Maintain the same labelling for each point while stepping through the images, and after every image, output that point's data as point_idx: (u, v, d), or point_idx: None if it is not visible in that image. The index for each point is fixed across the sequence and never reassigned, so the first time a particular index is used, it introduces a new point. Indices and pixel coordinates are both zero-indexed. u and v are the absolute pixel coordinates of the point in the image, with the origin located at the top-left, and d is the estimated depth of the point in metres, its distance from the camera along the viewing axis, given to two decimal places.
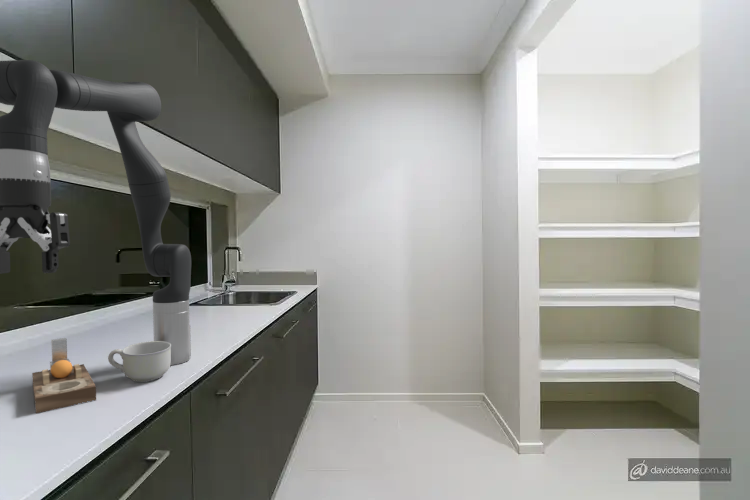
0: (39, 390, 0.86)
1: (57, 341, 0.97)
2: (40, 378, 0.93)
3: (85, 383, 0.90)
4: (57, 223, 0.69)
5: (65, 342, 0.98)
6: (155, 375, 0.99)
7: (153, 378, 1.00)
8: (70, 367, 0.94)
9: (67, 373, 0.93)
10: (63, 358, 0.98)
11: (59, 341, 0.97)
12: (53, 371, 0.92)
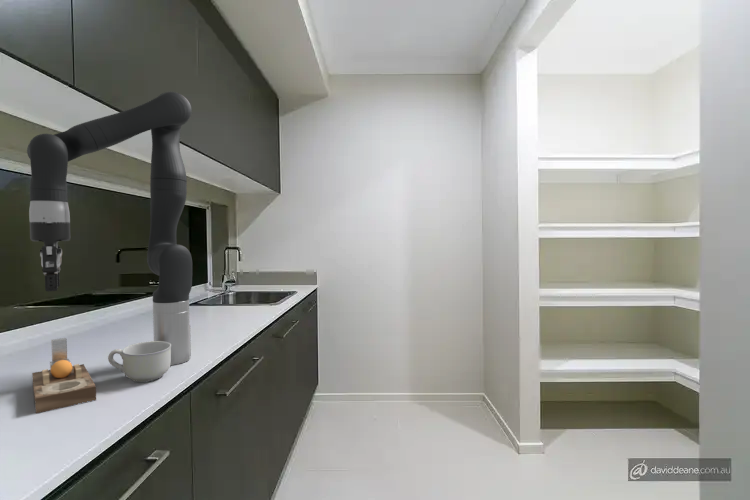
0: (39, 390, 0.86)
1: (57, 341, 0.97)
2: (40, 378, 0.93)
3: (85, 383, 0.90)
4: None
5: (65, 342, 0.98)
6: (155, 375, 0.99)
7: (153, 378, 1.00)
8: (70, 367, 0.94)
9: (67, 373, 0.93)
10: (63, 358, 0.98)
11: (59, 341, 0.97)
12: (53, 371, 0.92)
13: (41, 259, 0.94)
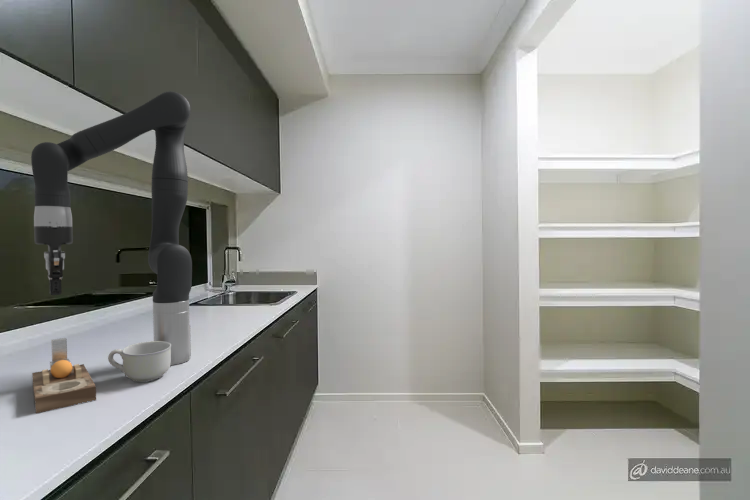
0: (39, 390, 0.86)
1: (57, 341, 0.97)
2: (40, 378, 0.93)
3: (85, 383, 0.90)
4: None
5: (65, 342, 0.98)
6: (155, 375, 0.99)
7: (153, 378, 1.00)
8: (70, 367, 0.94)
9: (67, 373, 0.93)
10: (63, 358, 0.98)
11: (59, 341, 0.97)
12: (53, 371, 0.92)
13: (46, 265, 1.00)
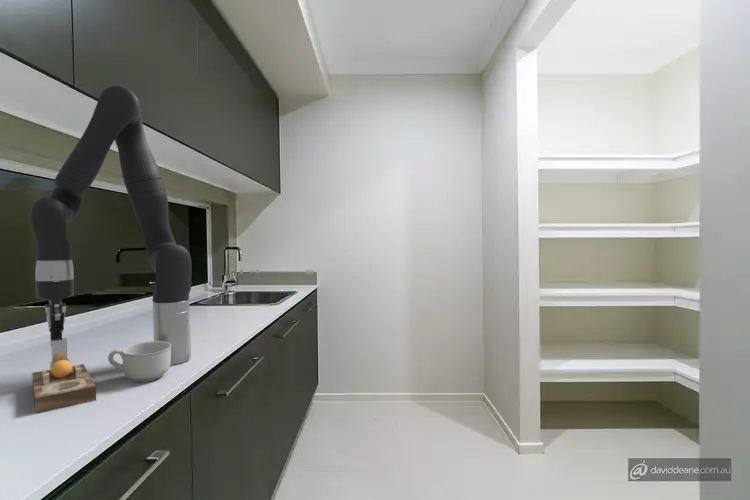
0: (39, 390, 0.86)
1: (57, 341, 0.97)
2: (40, 378, 0.93)
3: (85, 383, 0.90)
4: None
5: (65, 342, 0.98)
6: (155, 375, 0.99)
7: (153, 378, 1.00)
8: (70, 367, 0.94)
9: (67, 373, 0.93)
10: (63, 358, 0.98)
11: (59, 341, 0.97)
12: (53, 371, 0.92)
13: (47, 319, 1.00)
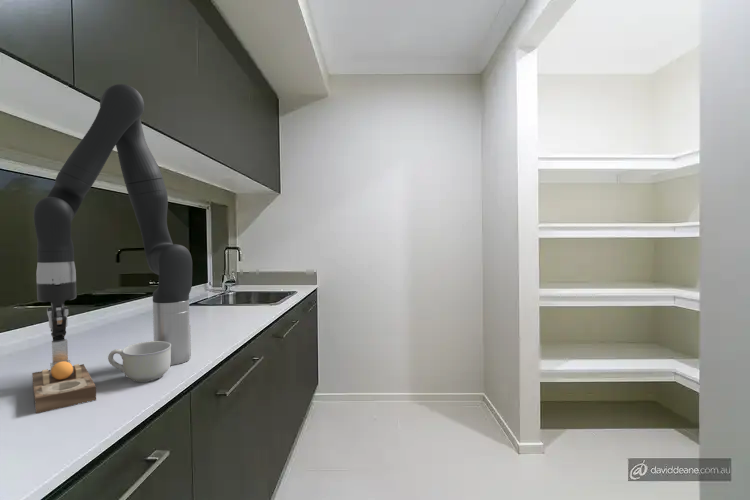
0: (39, 390, 0.86)
1: (58, 342, 0.96)
2: (40, 378, 0.93)
3: (85, 383, 0.90)
4: None
5: (66, 343, 0.97)
6: (155, 375, 0.99)
7: (153, 378, 1.00)
8: (71, 372, 0.93)
9: (67, 377, 0.93)
10: (64, 360, 0.96)
11: (60, 342, 0.96)
12: (53, 376, 0.91)
13: (49, 323, 0.97)
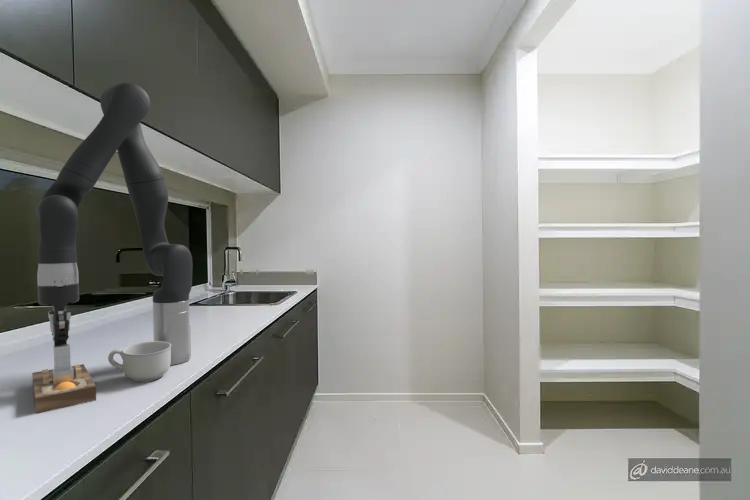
0: (39, 390, 0.86)
1: (60, 347, 0.91)
2: (40, 378, 0.93)
3: (85, 383, 0.90)
4: None
5: (68, 348, 0.92)
6: (155, 375, 0.99)
7: (153, 378, 1.00)
8: None
9: (70, 383, 0.88)
10: (66, 365, 0.92)
11: (62, 347, 0.91)
12: (55, 387, 0.87)
13: (51, 327, 0.92)
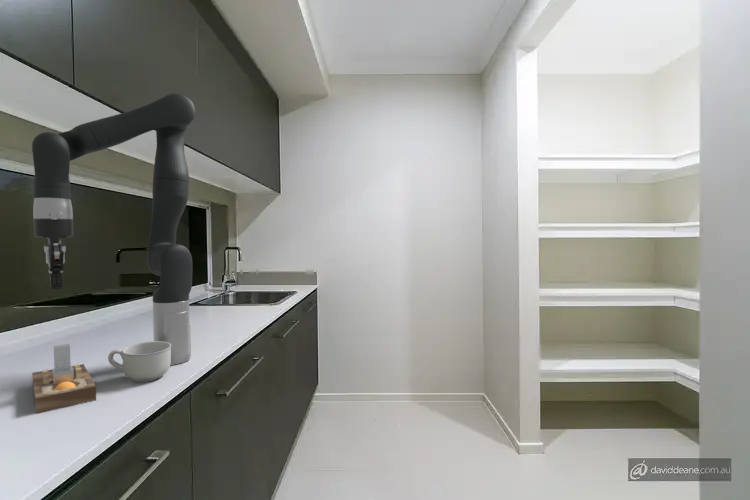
0: (39, 390, 0.86)
1: (60, 347, 0.91)
2: (40, 378, 0.93)
3: (85, 383, 0.90)
4: None
5: (68, 348, 0.92)
6: (155, 375, 0.99)
7: (153, 378, 1.00)
8: None
9: (70, 382, 0.88)
10: (66, 365, 0.92)
11: (62, 347, 0.91)
12: (55, 387, 0.87)
13: (46, 258, 0.97)
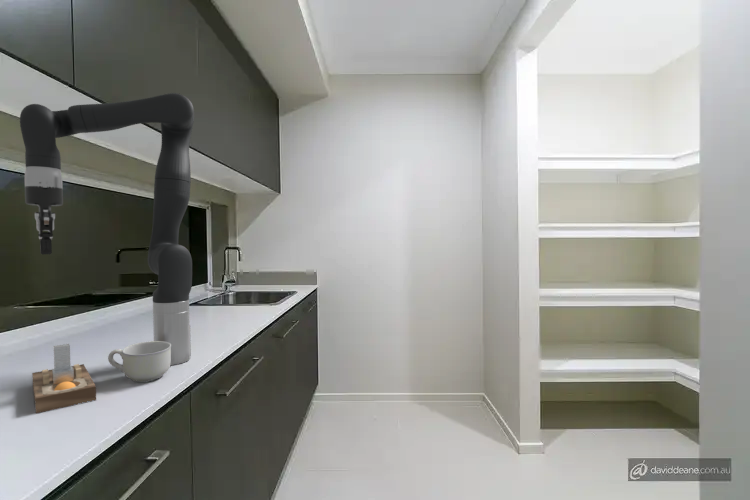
0: (39, 390, 0.86)
1: (60, 347, 0.91)
2: (40, 378, 0.93)
3: (85, 383, 0.90)
4: None
5: (68, 348, 0.92)
6: (155, 375, 0.99)
7: (153, 378, 1.00)
8: None
9: (70, 382, 0.88)
10: (66, 365, 0.92)
11: (62, 347, 0.91)
12: (55, 387, 0.87)
13: (37, 224, 1.02)
